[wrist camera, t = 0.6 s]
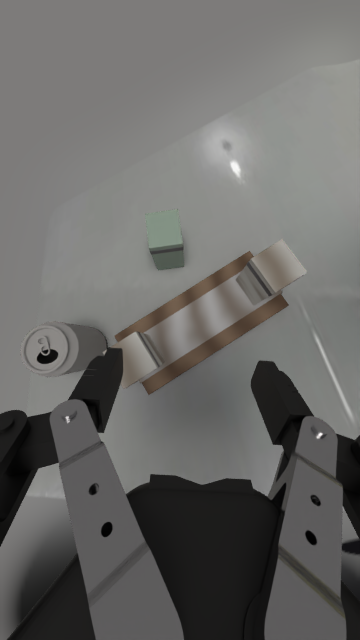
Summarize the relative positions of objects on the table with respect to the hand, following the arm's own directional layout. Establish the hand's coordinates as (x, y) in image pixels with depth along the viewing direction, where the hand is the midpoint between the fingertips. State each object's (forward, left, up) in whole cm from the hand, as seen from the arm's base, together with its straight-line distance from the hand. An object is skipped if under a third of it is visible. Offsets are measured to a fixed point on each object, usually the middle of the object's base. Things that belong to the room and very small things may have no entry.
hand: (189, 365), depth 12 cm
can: (+15, -10, -25) cm, 31 cm away
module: (-7, -17, -25) cm, 31 cm away
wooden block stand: (-5, -3, -25) cm, 26 cm away
